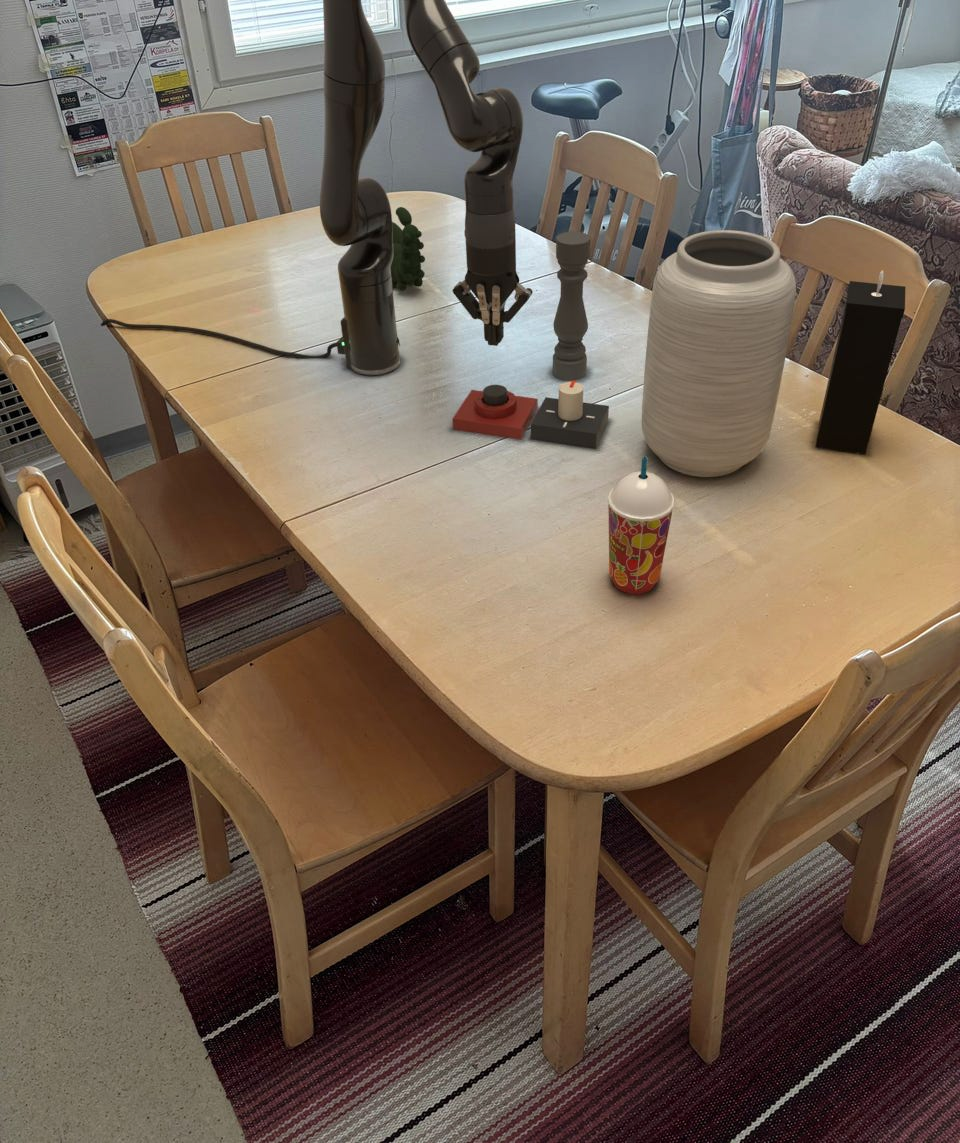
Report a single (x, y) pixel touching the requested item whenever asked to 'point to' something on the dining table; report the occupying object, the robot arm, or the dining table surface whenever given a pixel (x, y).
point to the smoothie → (638, 530)
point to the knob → (570, 401)
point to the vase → (716, 351)
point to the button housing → (496, 415)
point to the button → (495, 395)
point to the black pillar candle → (860, 365)
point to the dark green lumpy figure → (406, 252)
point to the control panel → (569, 425)
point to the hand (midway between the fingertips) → (494, 343)
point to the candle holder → (571, 306)
